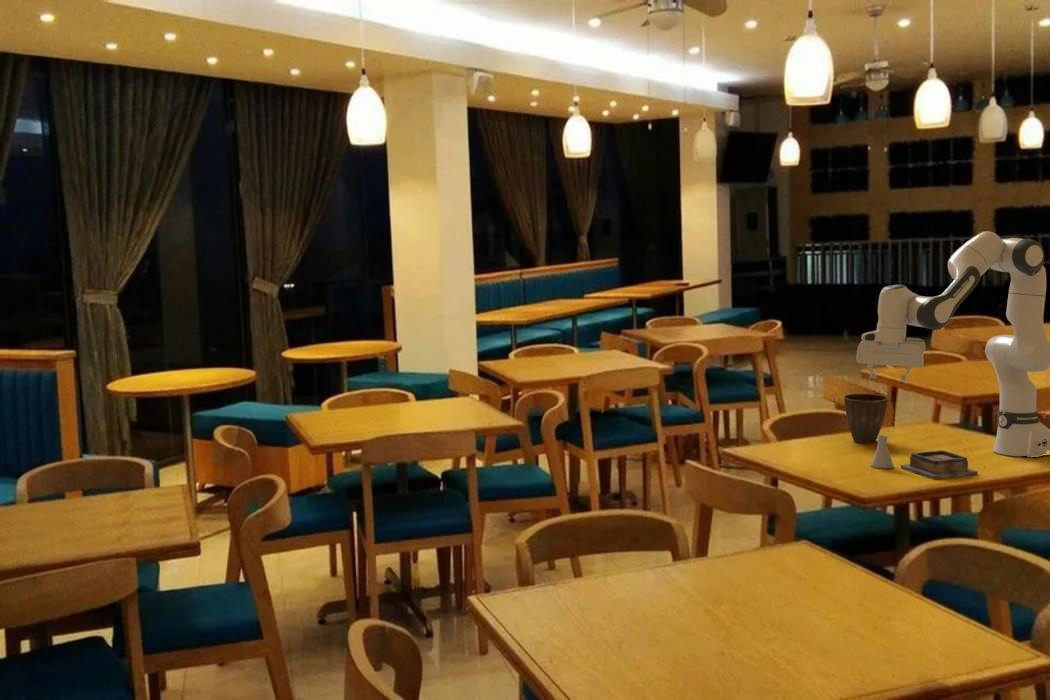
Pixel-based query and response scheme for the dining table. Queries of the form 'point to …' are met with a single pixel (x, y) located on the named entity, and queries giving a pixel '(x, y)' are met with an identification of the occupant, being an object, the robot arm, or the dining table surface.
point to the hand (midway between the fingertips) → (888, 379)
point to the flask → (882, 454)
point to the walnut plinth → (939, 465)
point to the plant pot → (865, 415)
